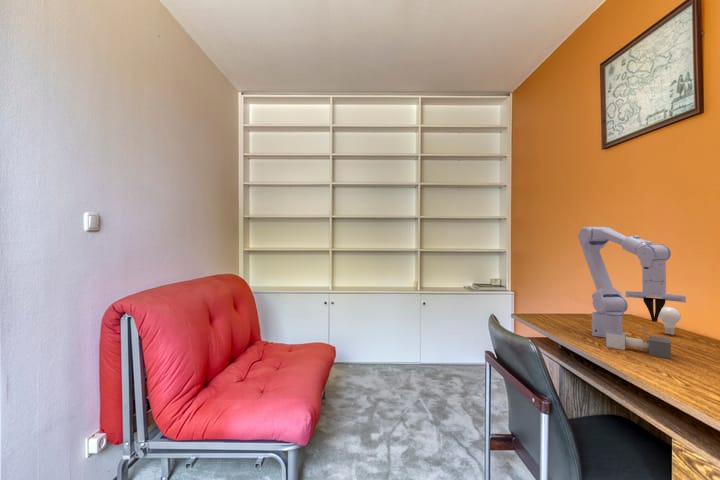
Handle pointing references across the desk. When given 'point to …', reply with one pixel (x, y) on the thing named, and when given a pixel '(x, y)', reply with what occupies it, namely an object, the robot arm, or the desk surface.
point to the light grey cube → (615, 339)
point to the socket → (659, 347)
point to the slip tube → (638, 341)
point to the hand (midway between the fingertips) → (654, 321)
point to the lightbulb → (669, 319)
